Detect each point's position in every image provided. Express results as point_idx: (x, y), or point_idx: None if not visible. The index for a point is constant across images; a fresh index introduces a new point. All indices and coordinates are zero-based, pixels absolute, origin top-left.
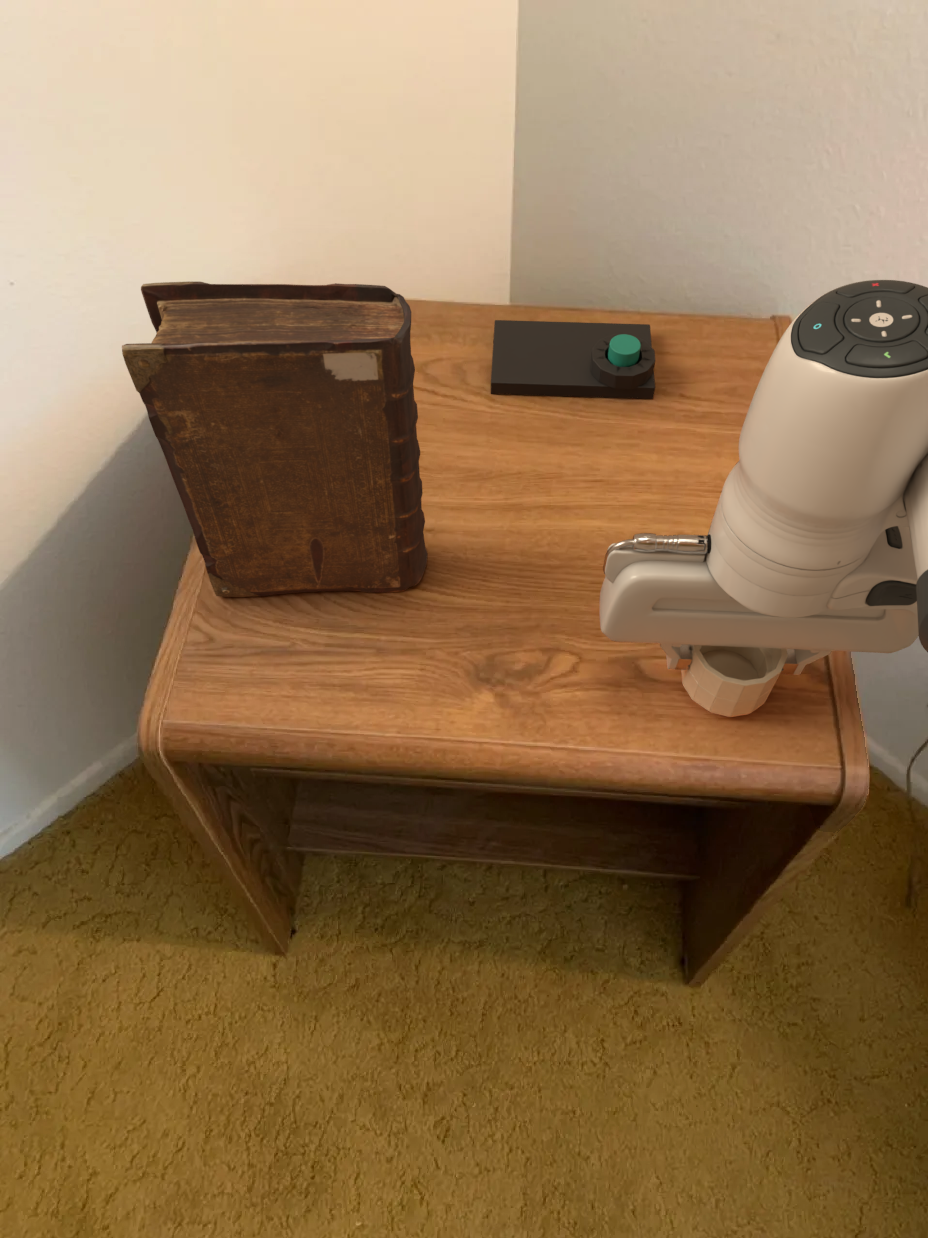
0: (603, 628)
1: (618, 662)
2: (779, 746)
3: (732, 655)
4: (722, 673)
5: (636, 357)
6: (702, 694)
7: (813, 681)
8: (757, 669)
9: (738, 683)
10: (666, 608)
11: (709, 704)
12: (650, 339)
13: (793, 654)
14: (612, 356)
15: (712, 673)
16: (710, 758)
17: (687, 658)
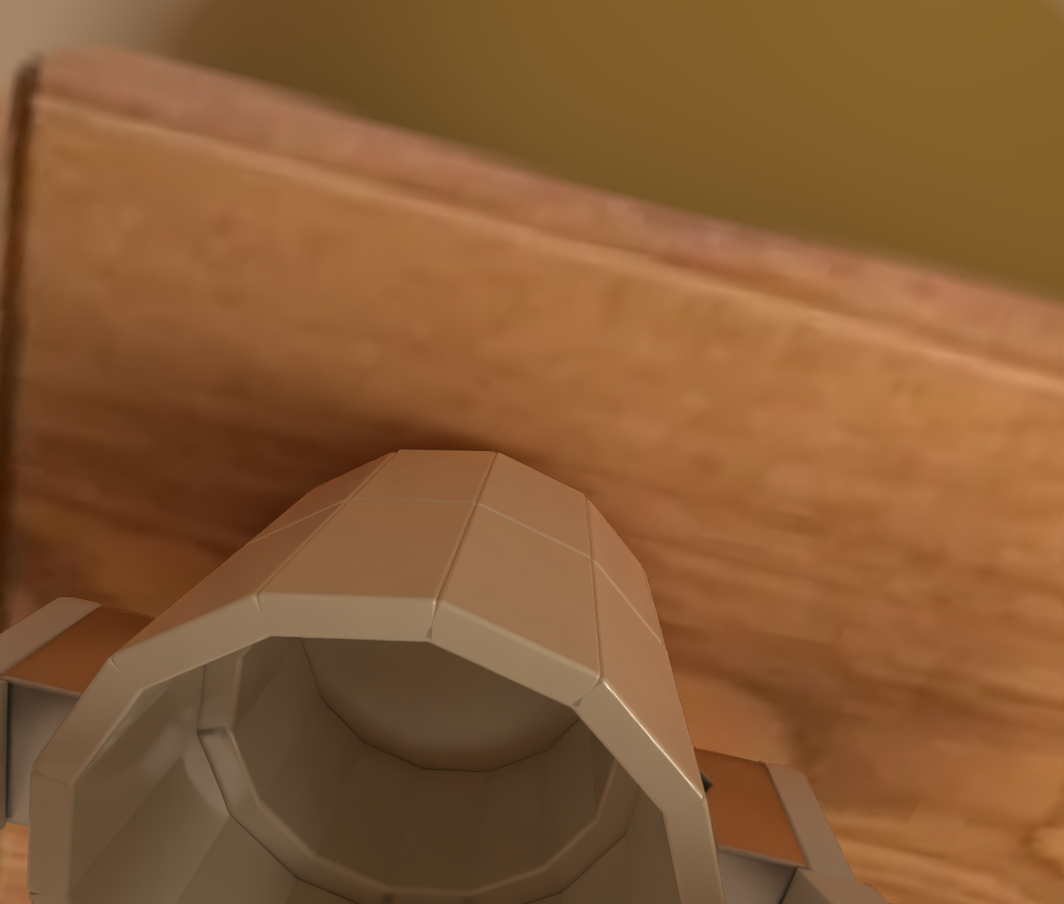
0: None
1: (874, 792)
2: (301, 266)
3: (386, 734)
4: (458, 665)
5: None
6: (634, 588)
7: (71, 552)
8: (296, 655)
9: (486, 628)
10: None
11: (598, 528)
12: None
13: (20, 747)
14: None
15: (665, 749)
16: (654, 264)
17: (745, 857)
